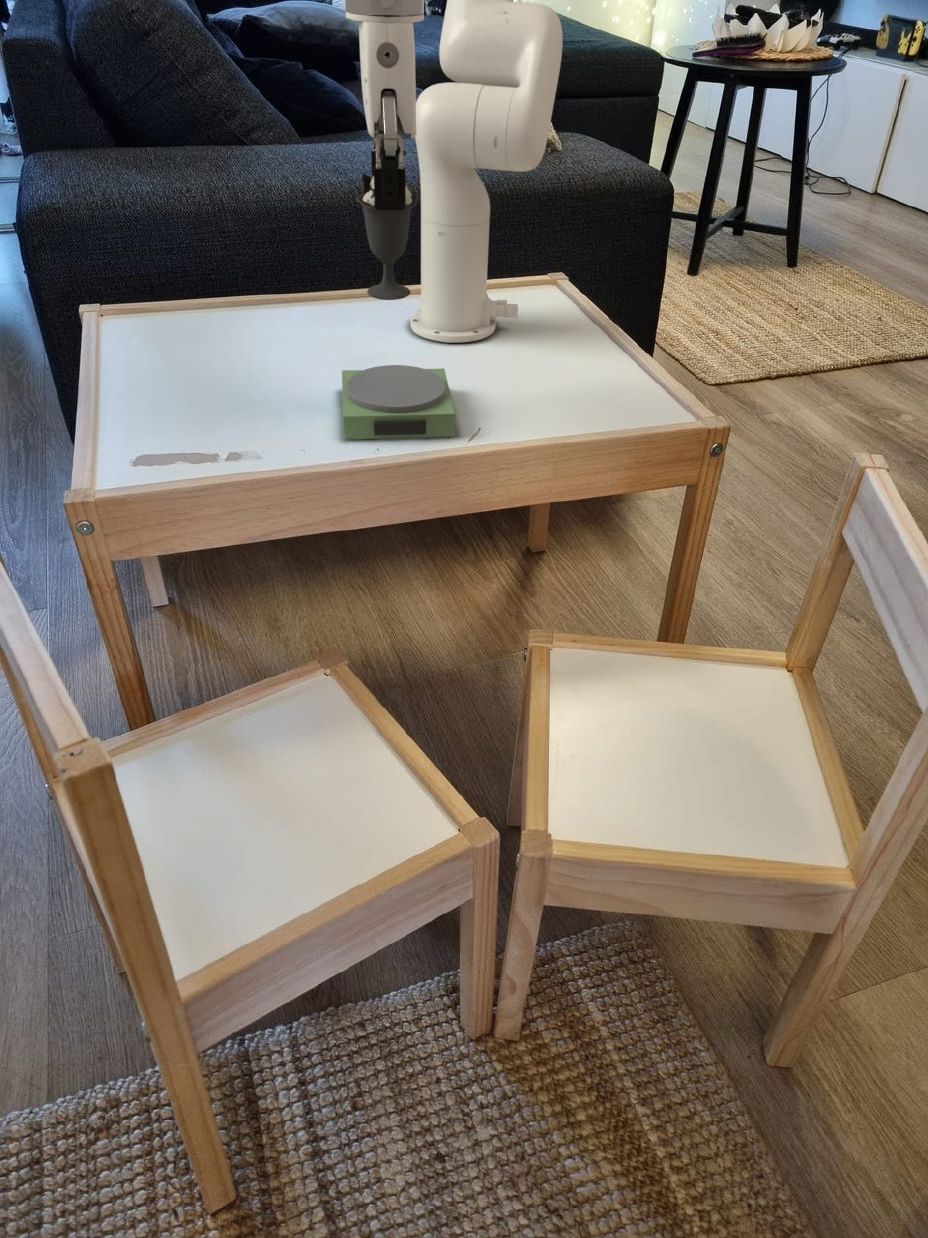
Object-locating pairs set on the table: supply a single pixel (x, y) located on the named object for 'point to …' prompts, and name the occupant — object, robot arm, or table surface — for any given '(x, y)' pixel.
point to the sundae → (386, 238)
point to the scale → (397, 403)
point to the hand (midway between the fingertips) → (388, 198)
